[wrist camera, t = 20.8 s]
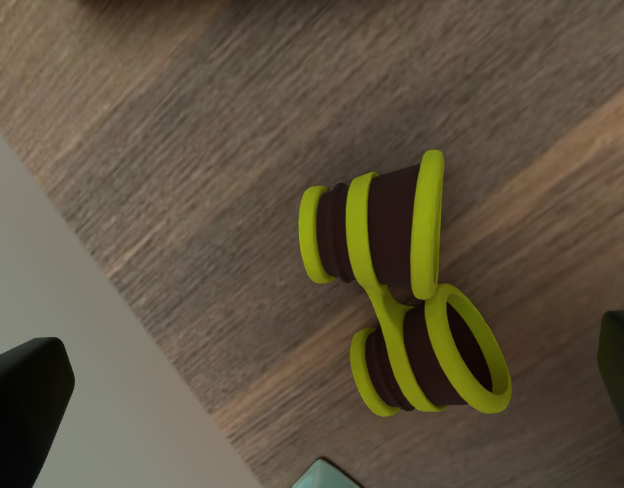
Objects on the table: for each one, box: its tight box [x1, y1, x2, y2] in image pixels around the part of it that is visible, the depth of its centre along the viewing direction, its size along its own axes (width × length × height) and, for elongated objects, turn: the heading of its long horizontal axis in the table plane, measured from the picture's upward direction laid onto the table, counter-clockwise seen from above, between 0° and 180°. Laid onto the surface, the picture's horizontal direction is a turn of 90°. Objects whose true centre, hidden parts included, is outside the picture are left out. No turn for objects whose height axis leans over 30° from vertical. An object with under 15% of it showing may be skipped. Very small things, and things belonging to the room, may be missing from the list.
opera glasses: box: [299, 150, 512, 417], centre depth 20 cm, size 10×5×5 cm, turn 21°
